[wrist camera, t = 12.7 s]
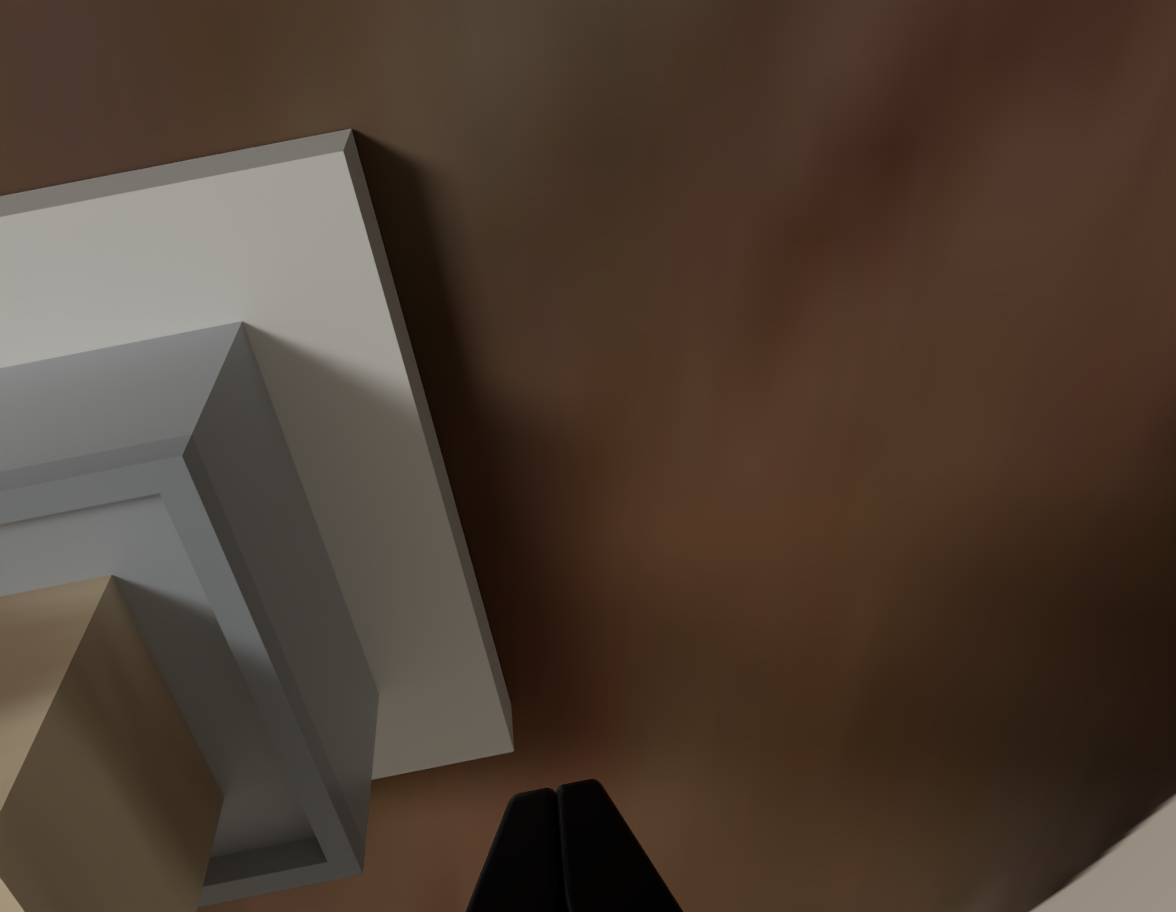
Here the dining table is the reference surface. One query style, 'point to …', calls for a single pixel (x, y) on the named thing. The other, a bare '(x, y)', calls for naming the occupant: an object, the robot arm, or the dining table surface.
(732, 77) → the dining table surface
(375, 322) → the grey square base plate
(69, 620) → the snap block
